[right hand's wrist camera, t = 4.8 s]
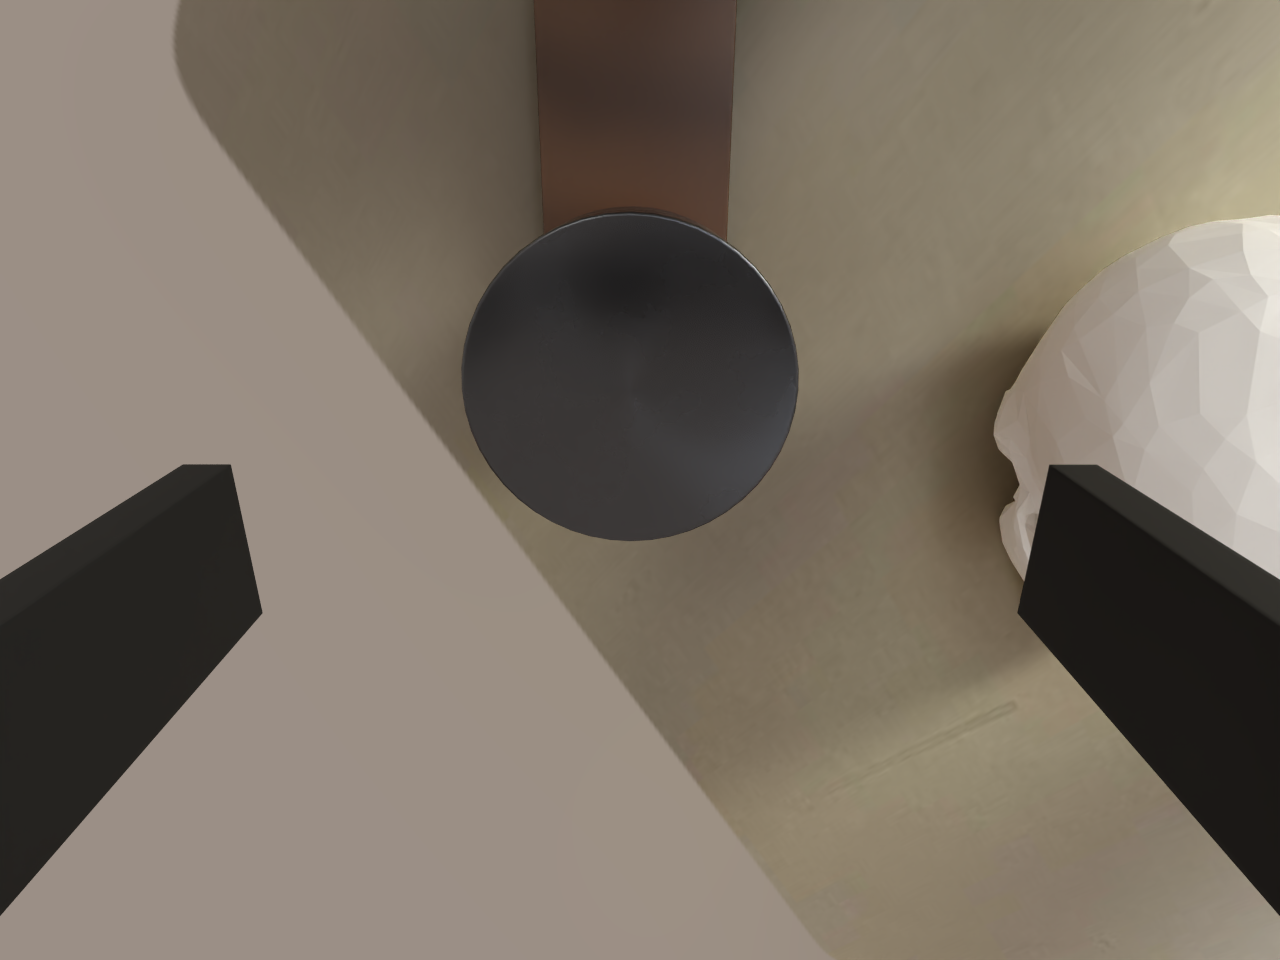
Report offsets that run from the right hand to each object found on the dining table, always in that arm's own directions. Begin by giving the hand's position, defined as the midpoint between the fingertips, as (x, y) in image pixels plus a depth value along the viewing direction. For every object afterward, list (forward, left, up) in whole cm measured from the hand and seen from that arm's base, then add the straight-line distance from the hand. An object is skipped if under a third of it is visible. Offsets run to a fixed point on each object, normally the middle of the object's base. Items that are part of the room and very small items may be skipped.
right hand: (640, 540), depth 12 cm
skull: (+7, +23, -25) cm, 34 cm away
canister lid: (0, 0, -12) cm, 12 cm away
